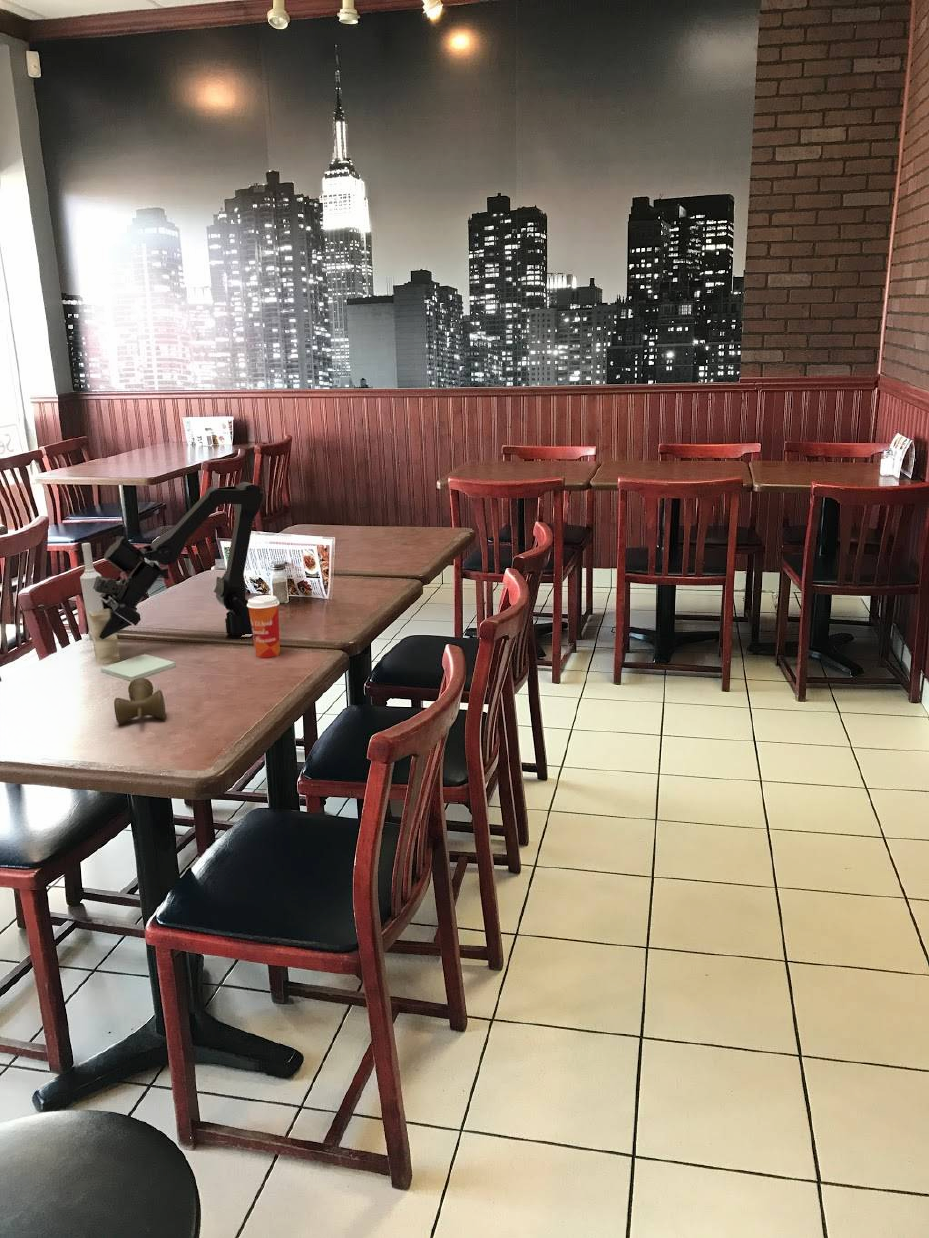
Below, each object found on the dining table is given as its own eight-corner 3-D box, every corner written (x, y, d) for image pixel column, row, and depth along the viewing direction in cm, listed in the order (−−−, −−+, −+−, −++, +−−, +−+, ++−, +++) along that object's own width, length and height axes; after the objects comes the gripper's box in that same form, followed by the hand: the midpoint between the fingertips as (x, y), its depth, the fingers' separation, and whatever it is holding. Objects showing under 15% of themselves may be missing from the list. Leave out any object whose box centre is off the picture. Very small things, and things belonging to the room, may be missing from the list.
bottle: (114, 635, 262) (101, 542, 255) (99, 641, 258) (85, 546, 251) (99, 633, 264) (85, 541, 257) (84, 639, 260) (70, 545, 253)
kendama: (166, 697, 217) (167, 728, 198) (119, 705, 214) (116, 736, 196) (161, 671, 215) (162, 699, 197) (115, 678, 213) (111, 707, 194)
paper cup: (245, 658, 240) (239, 601, 236) (263, 648, 246) (257, 593, 242) (273, 660, 237) (267, 603, 233) (290, 651, 243) (285, 595, 240)
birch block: (116, 655, 246) (109, 608, 242) (120, 660, 242) (113, 612, 238) (95, 659, 243) (88, 611, 240) (99, 664, 239) (92, 616, 236)
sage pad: (145, 658, 243) (144, 654, 242) (175, 666, 235) (175, 662, 235) (101, 672, 234) (100, 667, 233) (131, 681, 226) (131, 677, 226)
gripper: (104, 557, 246) (63, 607, 244) (119, 570, 230) (76, 625, 228) (140, 583, 252) (101, 632, 250) (158, 598, 236) (116, 651, 234)
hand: (98, 634), depth 240 cm, fingers open, 6 cm apart
